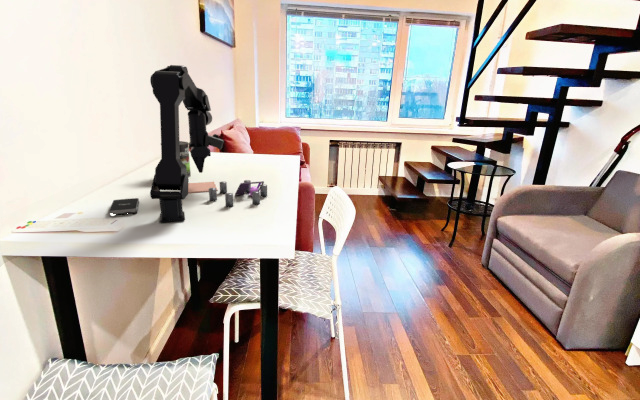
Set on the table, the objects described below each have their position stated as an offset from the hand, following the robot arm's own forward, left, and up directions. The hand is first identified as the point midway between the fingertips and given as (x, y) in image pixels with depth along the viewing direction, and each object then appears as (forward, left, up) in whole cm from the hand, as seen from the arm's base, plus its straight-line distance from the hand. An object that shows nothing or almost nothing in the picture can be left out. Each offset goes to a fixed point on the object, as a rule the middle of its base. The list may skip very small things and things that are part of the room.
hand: (200, 171), depth 126 cm
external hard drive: (-18, +23, -7) cm, 30 cm away
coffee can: (+19, +8, -6) cm, 22 cm away
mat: (0, 0, -6) cm, 6 cm away
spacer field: (-16, -11, -6) cm, 20 cm away
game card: (-16, -11, -4) cm, 20 cm away
